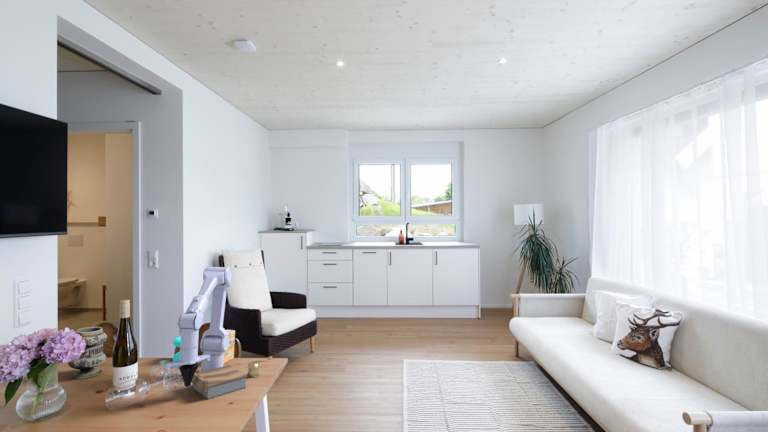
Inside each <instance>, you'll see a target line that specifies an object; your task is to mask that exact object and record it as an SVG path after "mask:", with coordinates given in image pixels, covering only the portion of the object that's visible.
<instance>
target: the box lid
mask: <svg viewBox="0 0 768 432" xmlns="http://www.w3.org/2000/svg"><path fill="white" fill-rule="evenodd" d="M244 377H246V378H248V377H247V374H245V373H243V372H242V371H240V370H239V369H237V368H236V367H233V366H232V365H230V364H229V365H228V364H227V365H225V366H224V365H223V367H220V368H216V369H212V370H208V371H204V372H200V373H198V372H197V371H196V372H195V374H194V376H193V379H192V382H191V384H192V383H193V384H194V385H195V386H197V387H198V388H199V389H201V390H202V391H203V392H207V391H208V388H209V387H213V386H216V385H220V384H223V383H227V382H230V381H234V380H237V379H241V378H244Z"/></svg>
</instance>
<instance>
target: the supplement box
mask: <svg viewBox="0 0 768 432" xmlns="http://www.w3.org/2000/svg"><path fill="white" fill-rule="evenodd" d="M225 330H226V331H227V332H228V333H229V346H228V349H227V350H226V351H225V352H224V362H223V365H225V364H226V363H228V362H230V361H232V360H234V358H235V337H236V330H234V329H225ZM215 336H219V335H215Z"/></svg>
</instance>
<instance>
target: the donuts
mask: <svg viewBox="0 0 768 432" xmlns="http://www.w3.org/2000/svg"><path fill="white" fill-rule="evenodd" d="M180 340H181V336H178V337H176V338H174V340H173V345H174V346H175V347H177V348H180ZM179 359H180V351H178V352H176V353H174V355H173V356H172V362H173V361H176V360H179Z"/></svg>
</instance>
